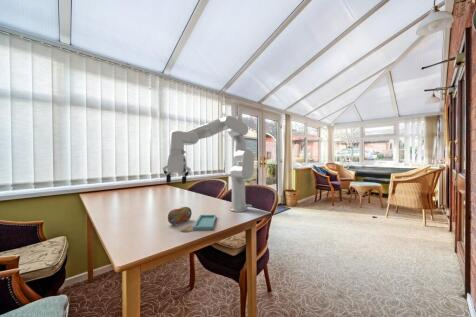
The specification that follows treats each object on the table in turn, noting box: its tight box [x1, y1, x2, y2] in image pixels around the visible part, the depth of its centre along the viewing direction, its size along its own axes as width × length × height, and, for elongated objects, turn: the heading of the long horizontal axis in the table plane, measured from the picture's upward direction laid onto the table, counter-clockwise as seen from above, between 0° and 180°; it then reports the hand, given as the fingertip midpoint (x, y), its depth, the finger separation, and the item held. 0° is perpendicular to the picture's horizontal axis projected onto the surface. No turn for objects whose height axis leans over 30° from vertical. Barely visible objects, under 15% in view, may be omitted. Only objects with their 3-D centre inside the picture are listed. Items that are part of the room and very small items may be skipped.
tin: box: [167, 206, 193, 226], centre depth 117 cm, size 15×3×8 cm, turn 143°
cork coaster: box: [179, 225, 195, 233], centre depth 107 cm, size 8×8×1 cm
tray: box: [192, 214, 217, 231], centre depth 116 cm, size 10×21×2 cm, turn 1°
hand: (176, 183), depth 116 cm, fingers open, 9 cm apart
